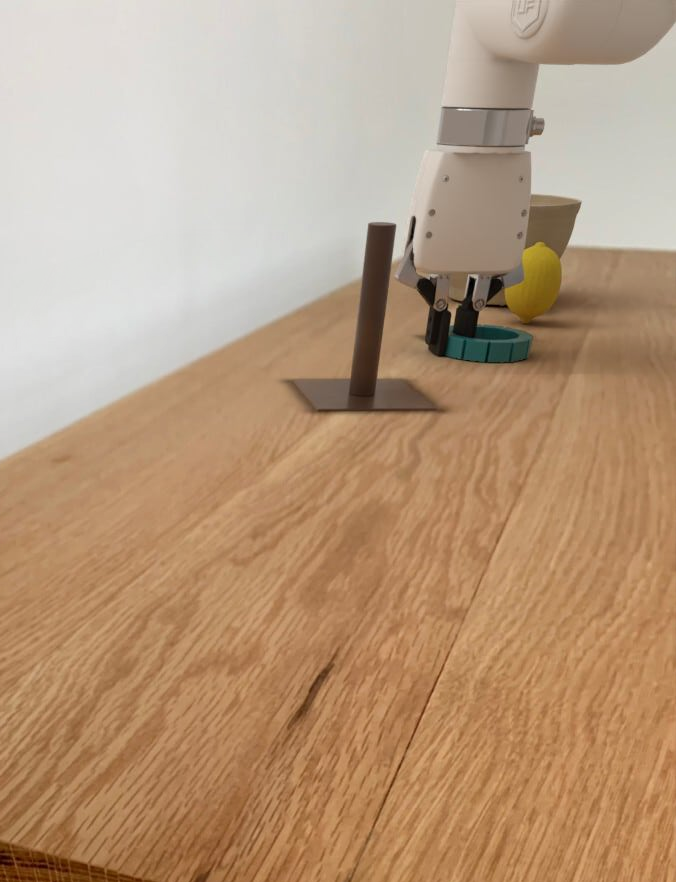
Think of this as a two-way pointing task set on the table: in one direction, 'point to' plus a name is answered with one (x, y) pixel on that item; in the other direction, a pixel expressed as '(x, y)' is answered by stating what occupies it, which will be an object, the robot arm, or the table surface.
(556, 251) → the planter bowl
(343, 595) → the table surface
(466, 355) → the ring
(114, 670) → the table surface
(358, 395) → the peg stand
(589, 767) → the table surface
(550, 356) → the table surface
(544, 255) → the lemon
